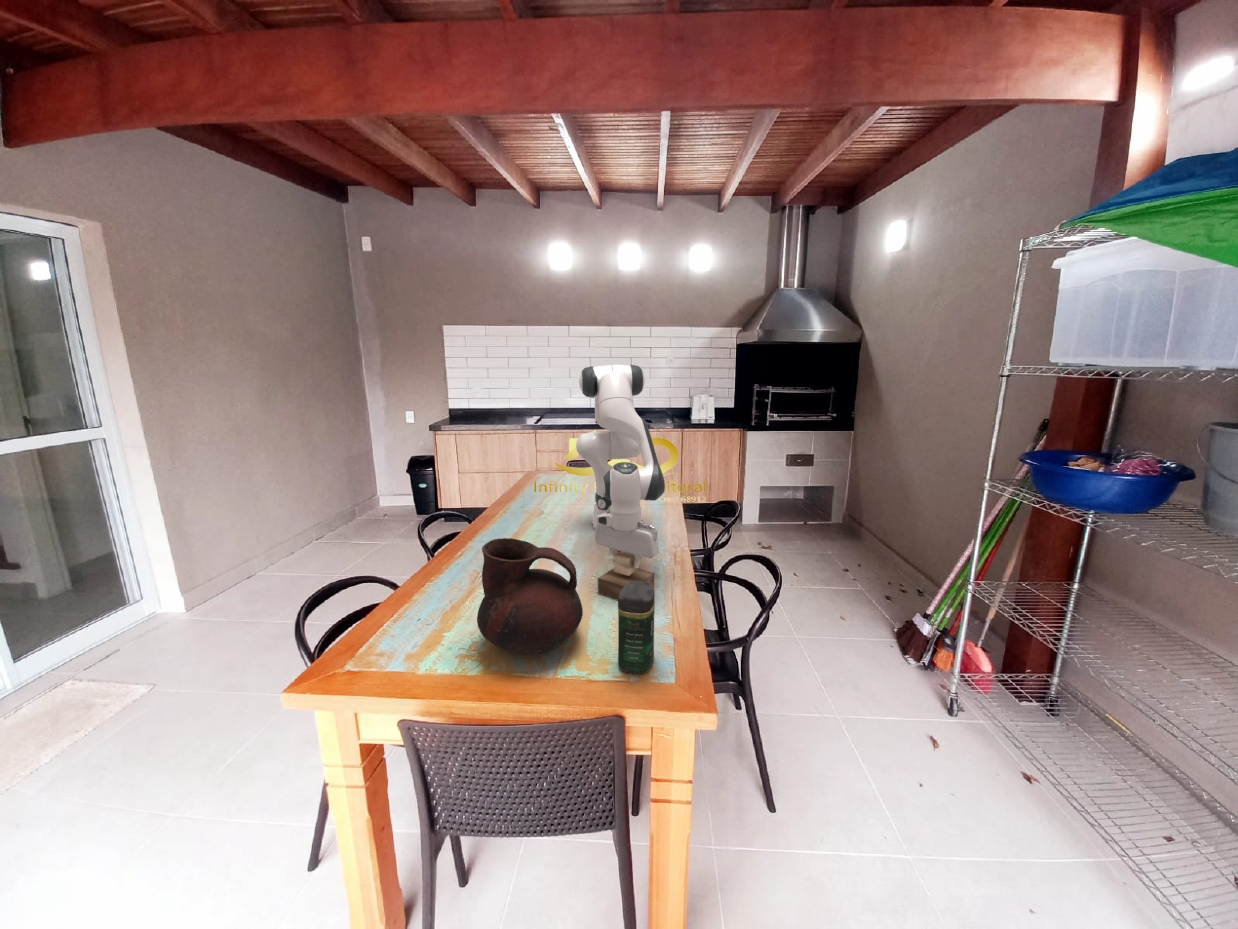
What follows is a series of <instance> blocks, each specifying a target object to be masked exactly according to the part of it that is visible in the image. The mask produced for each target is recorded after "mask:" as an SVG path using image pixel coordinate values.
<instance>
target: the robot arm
mask: <svg viewBox="0 0 1238 929" xmlns="http://www.w3.org/2000/svg"><path fill="white" fill-rule="evenodd" d="M578 383H579V388H580V390H581V392H582V394H583V395H584V396H585V397H587V398H591V399H593V398H594V419H595V421H596V423H597V424H598V425H599V426H600V427H601V428H602V429H605V430H607V431H589V432H584V433H581V434H580V435H579V436H578V438H577V439H576V444H575V446H576V447H575V448H576V452H577V453H578V455H579V457H580V458H581V459H583V460H584V461H586V462H587V463H588V465H589V466H590V468H591V469H592V472H593V473H594V478H595V487H596V488H595V489H596V492H595V495H594V498H595V500H594V502H595V504H594V506H593V518H592V520H591V524H592V527H593V529H594V541H595V543H596V544H597V545H598V546H603V547H606V548H609V552H610V553H611V555H612V557H613V558H614V556H615V555H616V554H618V552H617V550H620V551H624V552H628V553H632V554H635V558H636V560H634V561H632V567H634V568H639V566H640V561H641V560H642V558H648V559H652V558H655V557H656V556H657V555H658V554H659V540H658V529H656V528H655V527H654V526H653V525H651V524H646V523H645V522H644V523H641V522H642V521H643V517H642V506H641V502H640V501H642V500H643V501H654V502H655V501H657V500H658V499H659V498H660V497H662V496H663V495H664V493H665V492H666V491H665V490H666V480H665V477H664V474H663V471H662V469H661V466H660V464H659V461H658V457H657V453H656V449H655V446H654V442H653V440H652V435H651V433H650V432H651V431H650V429H649V426H648V424H647V422H646V420H645V419H644V418H642V417H640V416H639V414H638V412H636V409H635V406H634V398H633V396H638V395H640V394H641V393H642V392H643V390H644V386H645V383H646V382H645V374H644V372H643V369H642V368H641V367H640V366H639V365H635V364H629V365H627V364H607V365H605V364H603V365H598V366H593V365H592V366H587V367H584V368H583V369H582V370H581V373H580V374H579V379H578ZM640 454H641V458H642V462H643V466H644V467H639V466H638V465H637V464H636V463H633V462H629V461H628V462H627V461H621V462H617V463H615V464H614V465H613V464H612V465H610V464H609V462H608V461H609V460H627V459H632V458H636V457H638V456H639V455H640ZM641 520H642V521H641Z"/></svg>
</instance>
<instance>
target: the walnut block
mask: <svg viewBox="0 0 1238 929" xmlns="http://www.w3.org/2000/svg"><path fill="white" fill-rule="evenodd" d="M631 581H639V582H646V583H649V584H650V585H651V586H652V587H653V589H654V590H655V572H652V571H650V570H646V569H642V568H639V567H638V570H637V571H635V572H634V573H632V574H631V575H629V576H627V575H624V574H620V573H617V572H614V567H613V568H611V569H610V570H608V571H607V572H605V573H604V574H601V575H600V576H599V577H597V593H598V595H601V596H604V597H607V598H610V599H613V600H616V601H618V596H619V594H620V592H621V590H622V588H623V587H624V586H625V585H626V584H628V583H630V582H631Z"/></svg>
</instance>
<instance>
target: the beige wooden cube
mask: <svg viewBox="0 0 1238 929" xmlns="http://www.w3.org/2000/svg"><path fill="white" fill-rule="evenodd" d="M634 560H636V558H635V554H632V553H628V552H624V551H621V552H620V553H618V554H616V555H615V556H614V557H613V568H614V572H617V573H620V574H624V575H627V576H629V575H631V574H632V573H634V572H635V571H637V570H638V568H639V567H638V568H634V567H632V561H634Z"/></svg>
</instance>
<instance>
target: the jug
mask: <svg viewBox="0 0 1238 929" xmlns="http://www.w3.org/2000/svg"><path fill="white" fill-rule="evenodd" d="M481 551H482V555H483V564H482V569H481V570H482V572H481V584H482V588H483V594H484V596H483V598H482V600H481V602H480V604H479V606H478V610H477V616H476V618H477V619H476V623H477V628H478V630H479V632H480V634H481V635H482V636H483V638H484V639H485V640H486V641H488V642H489V643H490V644H492V645H494V646H495V647H497V648H499V649H501V650H503V651H506V652H508V653H512V654H519V655H533V654H534V655H535V654H539V653H540V654H541V653H544V652H549V651H550V650H553V649H555V648H557V647H559V646H560V645H562V644H564V643H565V642H566V641H568V639H570V638H571V636H572V635H573V634H574V633H575V632H576V630H577V629H578V628H579V625H580V624H581V623H582V622H581V621H582V619H583V614H584V613H583V605H582V602H581V601H582V600H581V598H580V595H579V593H578V591H577V586H578V578H577V568H576V566H575V564H574V563H573V561H572V560H571V559H570V558H569V557H567V556H566V555H565V554H564V553H563V552H561V551H560V550H557V549H555V548H553V547H544V546H543V547H542V546H541V547H538V546H536V545H535V544H533V543H531V542H529V541H526V540H520V539H517V538H510V537H509V538H508V537H502V538H494V539H491V540H490V541H488V542H486V543H485V544H484V545H483V546H482V548H481ZM540 559H546V560H550V561H553V562H555V563H557V564H559V566H561V567H562V568H563V569H564V570H566V572H568V574H569V580H568V579H566V578H565V577H564V576H562V575H561V574H559V573H557V572H554V571H551V570H548V569H544V568H531V567H532V565H533V563H534V562H535V561H538V560H540Z"/></svg>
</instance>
